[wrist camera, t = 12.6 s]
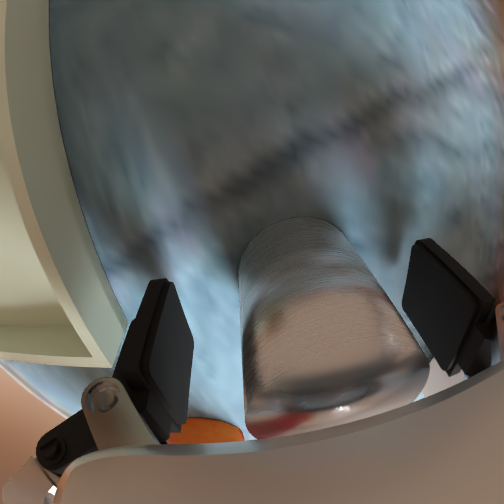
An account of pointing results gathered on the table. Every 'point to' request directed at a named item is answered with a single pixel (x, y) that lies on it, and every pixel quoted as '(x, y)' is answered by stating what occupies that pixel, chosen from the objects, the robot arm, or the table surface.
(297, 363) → the metal cylinder
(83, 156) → the table surface
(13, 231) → the parts tray
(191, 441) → the coffee cup
